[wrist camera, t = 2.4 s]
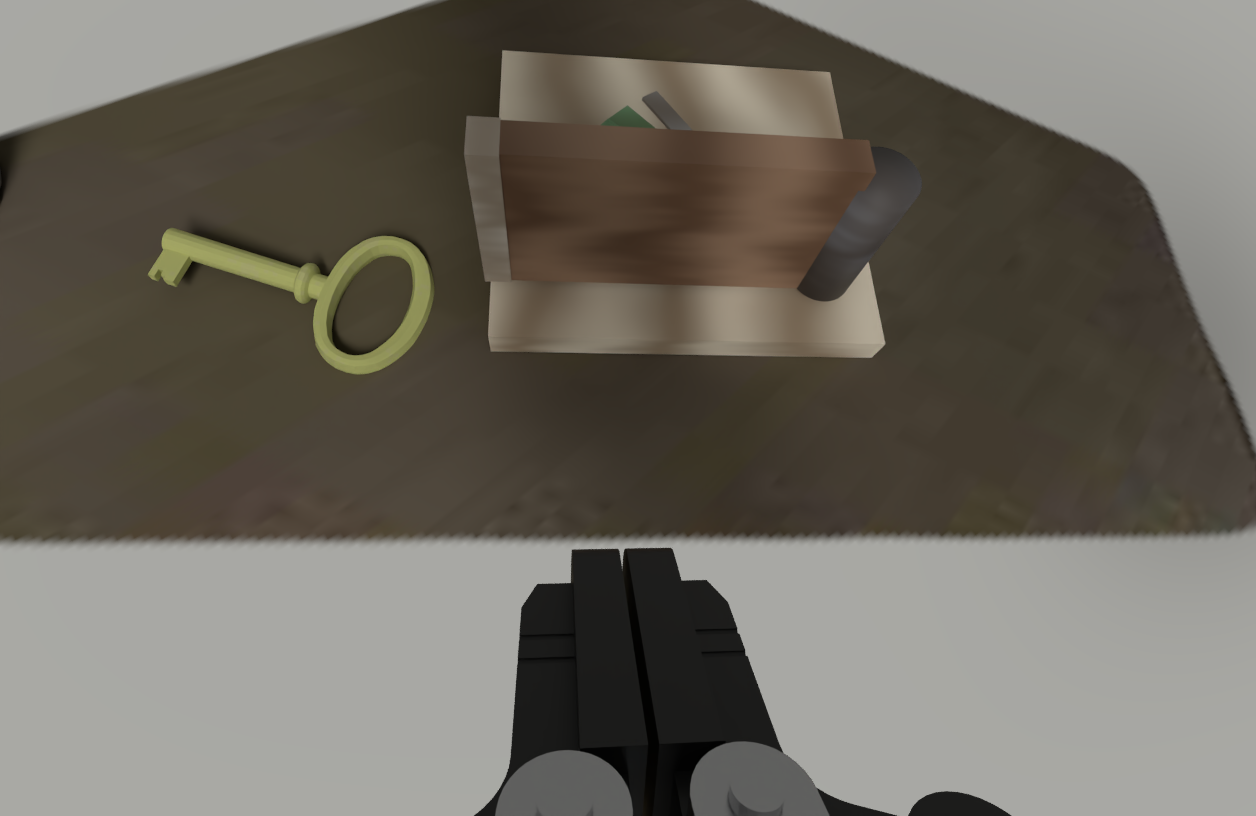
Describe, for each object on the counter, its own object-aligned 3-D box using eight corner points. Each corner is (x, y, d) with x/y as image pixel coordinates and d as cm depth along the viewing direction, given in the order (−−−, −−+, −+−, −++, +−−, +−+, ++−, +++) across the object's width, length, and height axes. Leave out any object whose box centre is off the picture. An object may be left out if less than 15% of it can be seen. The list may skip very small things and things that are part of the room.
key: (177, 250, 32) (152, 222, 30) (437, 250, 34) (429, 223, 32) (149, 384, 29) (120, 364, 28) (432, 377, 31) (425, 357, 29)
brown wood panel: (484, 292, 30) (462, 168, 23) (487, 238, 31) (467, 103, 24) (853, 302, 32) (942, 191, 25) (843, 250, 33) (926, 129, 26)
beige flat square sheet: (490, 351, 31) (487, 334, 30) (504, 73, 38) (502, 47, 37) (871, 357, 33) (887, 342, 32) (820, 93, 40) (831, 69, 39)
